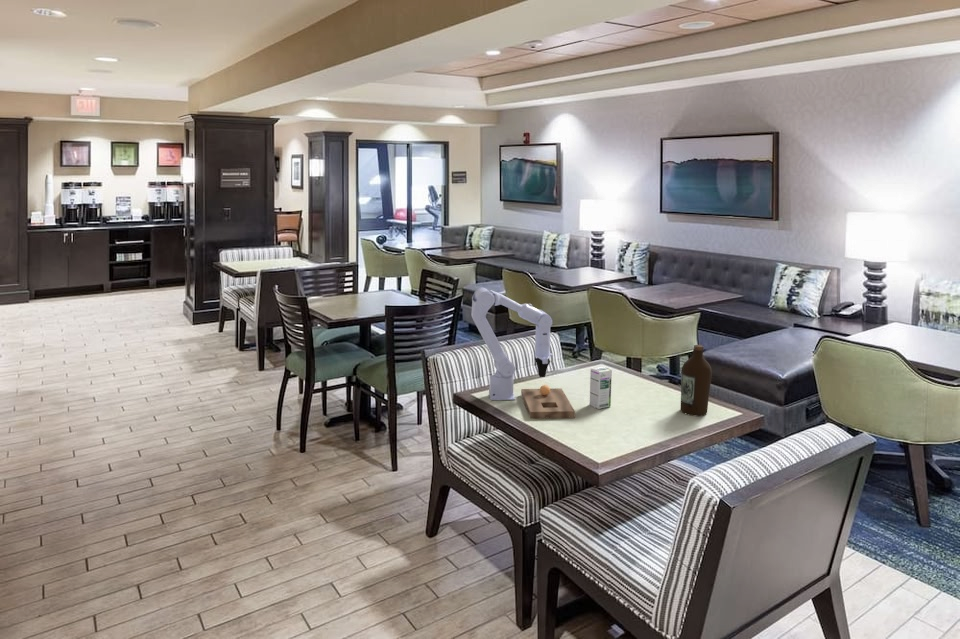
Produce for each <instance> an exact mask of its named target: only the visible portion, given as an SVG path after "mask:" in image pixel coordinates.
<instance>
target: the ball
mask: <svg viewBox="0 0 960 639" xmlns="http://www.w3.org/2000/svg"><path fill="white" fill-rule="evenodd" d="M539 389H540V393H541V394H542V395H544V396H546V395H548V394H549V393H550V389H551V388H550V386H548V385H546V384H542V385H541V386H540V387H539Z"/></svg>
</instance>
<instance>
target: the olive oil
mask: <svg viewBox="0 0 960 639" xmlns="http://www.w3.org/2000/svg"><path fill="white" fill-rule="evenodd" d="M692 350H693V351H692V353H693V354H692V356H691V357H690V358H688V359H687V360H685V361H684V363H683V364H682V367H681V371H680V375H681V376H680V409H679V410H680V412H681V411H682V412H681V413H683V414H685V413H686V414H685V415H688V414H689V416H693V415H702V416H705V415H707V414H708V408H709V407H708V406H709V398H710V391H711V384H712V376H713V370H712V367H711V365H710V363H709V362H708V361H707V360H706V359H705V357H704V356H703V354H704V345H702V344H695V345H693V349H692ZM706 413H707V414H706ZM704 414H705V415H704Z"/></svg>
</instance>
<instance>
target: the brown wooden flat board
mask: <svg viewBox="0 0 960 639" xmlns="http://www.w3.org/2000/svg"><path fill="white" fill-rule="evenodd" d="M520 395H521V398H522V400H523V404H524V406H525V409H526V412H527V414H528V417H529V419H575V415H576V410H575V409H574V407H573V405H572V403H571V402H570V400H569V399H568V397H567V395H566V393H565V392H564V390H563V388H558V387H556V388H550V393H549V394H548V395H546V396H544V395H542V394H541V393H540V388H521V392H520Z"/></svg>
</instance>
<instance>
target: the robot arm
mask: <svg viewBox="0 0 960 639" xmlns="http://www.w3.org/2000/svg"><path fill="white" fill-rule="evenodd" d="M471 302H472V303H471V313H470V315H471V318H472V320H473V322H474V325H475V326H476V328H477V329H478V332H479V334H480V335H481V337H482V340H483V341H484V342H485V345H486V347H487V348H488V350H489V352H490V354H491V357H492V359H493V364H494V368H495V369H496V371H495V373H494V374H492V375H489V388H488V394H489V398H490V400H491V401H515V400H516V396H515V393H514V379H515V378H514V375H515V372H516V367H515V366H516V365H515V364H514V363H513V362H512V361H511V360H510V359H509V357H508V356H507V354H506V353H505V351H504V350H503V347H502V346H501V344H500V342H499V340H498V338H497V336H496V334H495V332H494V330H493V329H492V326H491V325H490V322H489V321H488V319H487V318H486V316H487V314H488V311H489V310H490V309H491V308H492V307H493V306H494V307H495V306H500V305H501V306H504V307H506V308H507V309H510V310H511V311H513V312H517V314H518V317H519V318H521V319H522V320H525V321H527V322H529V323H531V324H534V325H535V335H534V337H535V339H534V340H535V341H534V342H535V343H534V344H535V345H534V346H535V347H534V361H535V363H536V366H537V372H538V376H539V378H545V377H546V374H547V369H548V367H549V365H550V363H551V360H550V357H553V356H554V354H553V353H551V327H552V326H553V323H554V322H553V321H554V320H553V319H552V317H551V315H550V314H548V313H547V312H545V311H543V309H540V308H539V309H538V308H536V307H534V306H533V304H531V303H526V302H525V303H522V304H520V303H518V302H517V301H515V300H513V299H511V298H509V297H507V296H505V295H504V294H502V293H499V292H497V291H494V290H492V289H490V290H489V289H488V288H486V287H483V286H481V287H478V288H477V289H475V291H474V293H473V295H472V297H471Z"/></svg>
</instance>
